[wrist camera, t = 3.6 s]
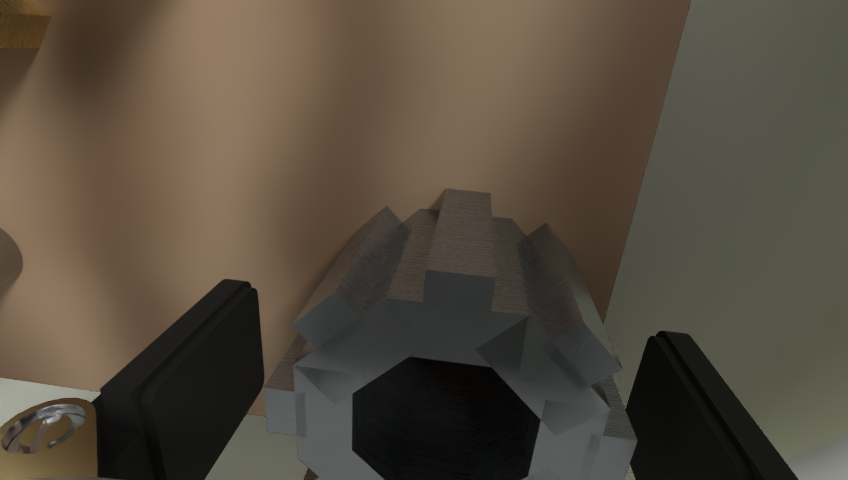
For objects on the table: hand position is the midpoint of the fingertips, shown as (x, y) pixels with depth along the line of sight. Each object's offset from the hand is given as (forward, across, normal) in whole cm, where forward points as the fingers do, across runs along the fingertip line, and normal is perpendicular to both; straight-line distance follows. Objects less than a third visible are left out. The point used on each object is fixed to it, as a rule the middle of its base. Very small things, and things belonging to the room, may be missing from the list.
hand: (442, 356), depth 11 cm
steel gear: (+2, 0, 0) cm, 2 cm away
